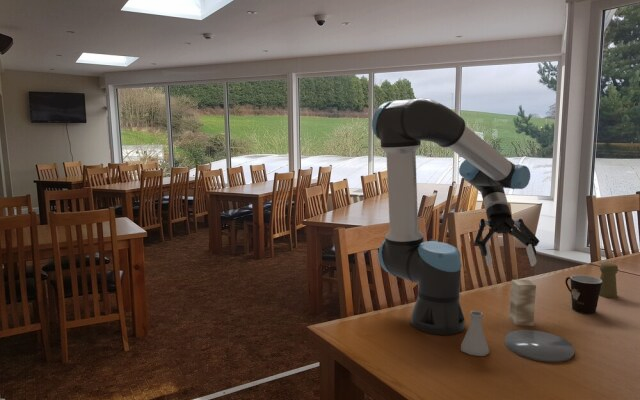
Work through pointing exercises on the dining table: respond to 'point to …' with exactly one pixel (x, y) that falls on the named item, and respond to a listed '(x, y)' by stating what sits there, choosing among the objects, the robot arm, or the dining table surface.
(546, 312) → the dining table surface
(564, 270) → the dining table surface
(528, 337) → the plate
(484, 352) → the flask
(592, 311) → the coffee mug
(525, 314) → the birch block
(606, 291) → the cork
